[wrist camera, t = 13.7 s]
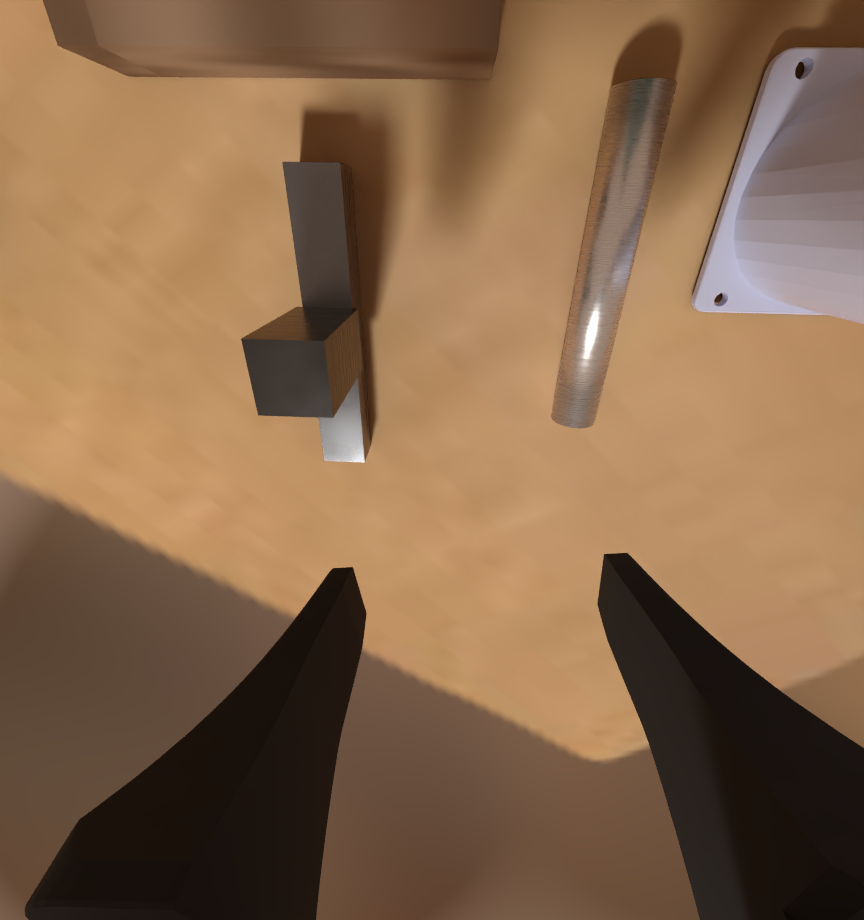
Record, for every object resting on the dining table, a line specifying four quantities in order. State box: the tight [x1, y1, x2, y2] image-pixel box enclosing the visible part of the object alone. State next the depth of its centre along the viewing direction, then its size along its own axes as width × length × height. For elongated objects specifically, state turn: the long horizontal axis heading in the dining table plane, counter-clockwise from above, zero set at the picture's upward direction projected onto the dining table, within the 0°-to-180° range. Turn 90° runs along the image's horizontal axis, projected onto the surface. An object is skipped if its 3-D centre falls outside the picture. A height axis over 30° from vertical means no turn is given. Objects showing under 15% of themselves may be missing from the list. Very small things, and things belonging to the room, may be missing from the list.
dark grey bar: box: [241, 162, 371, 462], centre depth 16 cm, size 2×12×7 cm, turn 179°
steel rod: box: [551, 78, 677, 428], centre depth 16 cm, size 12×2×2 cm, turn 179°
